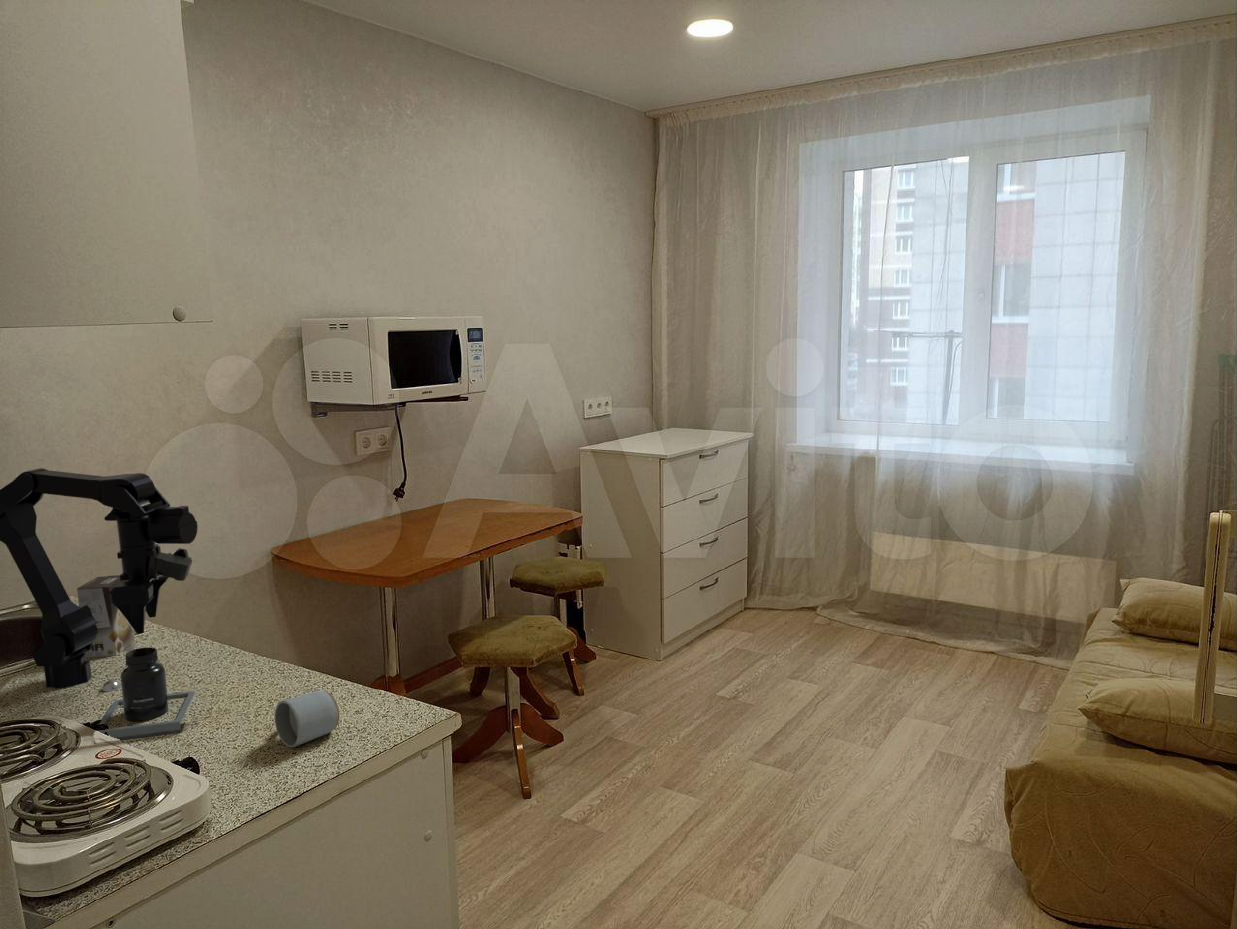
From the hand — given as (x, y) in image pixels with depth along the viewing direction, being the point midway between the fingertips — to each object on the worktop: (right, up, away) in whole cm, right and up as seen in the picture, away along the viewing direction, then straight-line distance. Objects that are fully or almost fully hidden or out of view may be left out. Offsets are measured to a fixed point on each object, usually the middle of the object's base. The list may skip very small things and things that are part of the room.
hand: (146, 624), depth 164 cm
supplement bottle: (+6, -14, -11) cm, 19 cm away
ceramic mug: (+35, -16, -17) cm, 42 cm away
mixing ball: (-7, -12, 0) cm, 13 cm away
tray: (+6, -15, -11) cm, 19 cm away
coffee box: (-18, -10, +21) cm, 30 cm away
